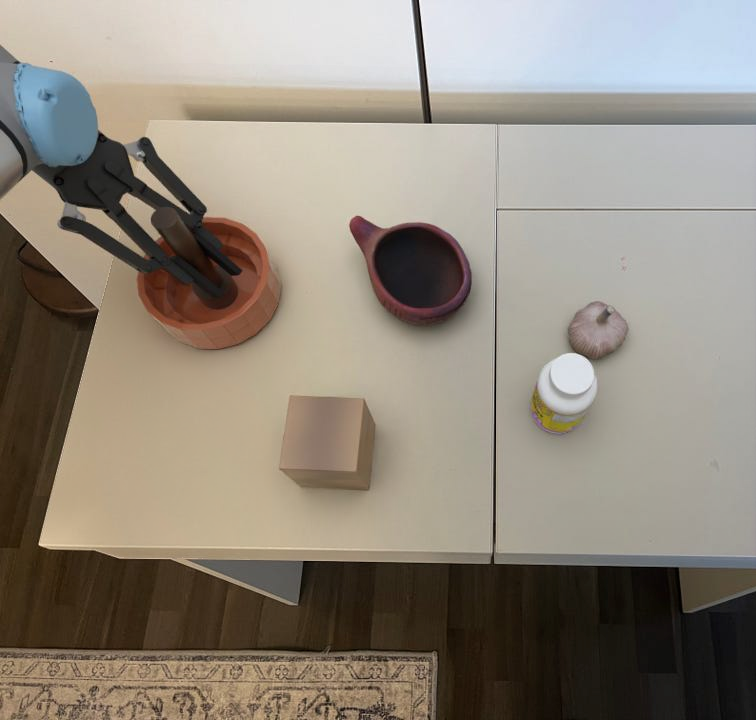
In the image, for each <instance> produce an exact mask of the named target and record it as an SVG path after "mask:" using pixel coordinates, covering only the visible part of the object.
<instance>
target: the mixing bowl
mask: <svg viewBox="0 0 756 720" xmlns="http://www.w3.org/2000/svg"><path fill="white" fill-rule="evenodd" d="M202 222H203V225H204V227H205V228H207V229H208V230H209V231H210V232H211V233H212V234H213V235H214V236H216V237H217V238H218V239H219V240H220V241H221V242H222V244H223V245H224V246H223V247H222V248H221V249H220V250H219V251H221V252H222V253H223V254H224V255H225V256H226V257H228V258H229V259H230V260H231V261H232V262H233V263H235V264H236V265H237V266H238V267H239V268H241V269H242V270H243V271H242V272H241V274H240V275H237V276H231V277H232V278H233V280H234V281H235V283H236V284H237V287H238V295H237V298H236V300H235V301H234V302H233V303H232V304H231V305H230V306H228V307H226V308H224V309H218V310H216V309H210V308H208V307H206V306H205V305H204V304H203V303H202V301H201V300H200V299H199V298H198V296H197V295H196V294H195V293H194V291H193V289H192V283H191V284H190V285H184V284H181V283H180V282H179V281H178V280H176V279H175V278H174V277H172V276H171V275H170V274H169V273H167V272H166V271H165V270H163V269H160V268H159V269H157V270H155V271H153V272H152V273H148V274H142V273H140V272H139V271H137V272H138V273H137V276H136V283H137V293H138V297H139V299H140V301H141V303H142V304H143V307H144V308H145V310H146V311H147V312H148V314H149V315H150V316H151V317H153V319H154V320H155V321H156V322H157V323H158V324H159V325H160V326H162V327H163V328H164V329H165V331H167V333H168V334H170V335H171V336H173V338H175V339H176V340H177V341H179V342H180V343H182V344H185V345H189V346H191V347H194V348H196V349H205V350H207V349H209V350H220V349H224V348H228V347H231V346H236V345H239V344H241V343H243V342H244V341H246V340H248V339H250V338H251V337H253V336H255V335H257V334H258V333H259V332H260V331H261V329H262V328H264V326H266V325H267V323H269V322H270V320H271V319H272V317H273V315H274V313H275V311H276V309H277V308H278V305H279V301H280V298H281V297H280V296H281V289H282V285H281V279H280V275H279V271H278V269H277V267H276V265H275V263H274V261H273V259H272V257H271V254H270V252H269V251H268V249H267V248H266V246H265V245H264V243H263V241H262V240H261V238H260V237H259V235H258V234H257V233H256V232H255V231H254V230H252V229H250V228H249V227H248V226H247V225H245V224H244V223H242V222H239V221H236V220H233V219H230V218H226V217H213V216H204V217H203V220H202ZM154 241H155V242H156V243H157V244H158V245H159V246H160V247H161V248H162V249H163V250H164V251H165V252H166V253H167V255H168V256H169V257H170V258H171V256H175V253H174V252H173V251H172V250H171V248H170V247H169V246H168V244H167V243H166V242H165V241H164V239H163V238H162V237H161V235H159V237H158V238H157V239H156V240H154ZM142 257H143V258H145V259H146V260H150V258H149V257H148V256H147V255H146V254H145V253H144V255H143V256H142ZM208 258H209V259H210V261H211V262H212V264H213V265H216V266H219V265H218V264H217V263H215V262H214V261H213V260H212V259H211V258H210V257H208Z"/></svg>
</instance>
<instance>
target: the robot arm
mask: <svg viewBox="0 0 756 720" xmlns="http://www.w3.org/2000/svg"><path fill="white" fill-rule="evenodd" d="M97 114H98V113H97V110H96V107H95V106H94V104H93V101H92V97H91V94H90V93H89V91H88V90H87V88H86V87H85V85H84V84H82V82H81V81H80V80H78V78H76V77H75V76H74V75H73V74H70V73H67V72H65V71H62V70H58V69H52V68H47V67H41V66H36V65H32V64H31V63H28V62H21V61H20V60H18V59H17V58H16V57H15V56H14V55H13V54H11V53H10V52H9V51H8V50H7V49H6V48H5V47H4V46H2V44H0V201H2V199H3V198H5V196H7V195H8V194H9V193H10V192H11V190H12V189H13V188H15V186H17V184H19V183H20V182H21V181H22V180H23V179H24V178H25V177H26V176H28V174H30V172H31V171H32V172H33V173H35V174H36V175H37V176H39V177H40V178H41V180H43V181H45V182H46V183H47V184H49V186H51V187H52V188H53V189H54V190H55V191H56V192H57V194H58V196H59V198H60V200H61V201H62V202H63V203H64V204H63V205H64V206H63V209H62V213H61V217H60V218H59V219H58V220H57V226H58V228H59V229H61V230H63V231H65V232H70V233H73V234H77V235H81V236H82V237H84V238H85V239H87V240H88V241H90V242H92V244H95V245H96V246H98V247H99V248H102V250H104V251H106V252H107V253H109V254H110V255H112V256H114V257H115V258H117V259H118V260H120V261H122V263H125V264H126V265H128V266H129V267H131V268H132V269H134V270H135V271H137V272H140V273H142V274H148V273H152V272H153V271H155V270H157V269H159V268H160V269H163V270H165V271H166V272H167V273H169V274H170V275H171V276H172V277H174V278H175V279H176V280H178V281H179V282H180V283H181V284H184V285H190V284H191V283H192V282H194V283H195V284H197V285H198V286H199V287H200V288H202V289H203V290H204V291H205V292H207V293H208V294H209V295H210V296H212V297H213V298H221V296H222V295H223V294H224V292H223V291H221V290H220V289H219V288H218V287H216V286H215V285H214V284H213V283H212V282H210V281H209V280H208V279H207V278H205V277H204V276H203V275H202V274H201V273H199V272H198V271H197V270H196V269H194V268H193V267H192V266H191V265H190V264H188V263H187V262H186V261H185V260H183V259H182V258H181V257H180V256H179V255H175V256H171V258H170V257H169V256H168V255H167V253H166V252H165V251H164V250H163V249H162V248H161V247H160V246H159V245H158V244H157V243H156V242H155V241H156V240H155V239H153V237H151V236H150V235H149V233H148V232H147V231H146V230H145V229H144V228H143V227H142V226H141V225H140V224H139V223H138V222H137V221H136V219H134V218H133V217H132V216H131V214H129V212H127V210H126V208H125V207H124V205H122V204H121V200H122V198H123V196H124V195H126V194H129V195H130V196H132V197H133V198H136V199H137V200H139V201H141V202H142V203H144V204H145V205H146V206H149V207H150V208H152V209H153V210H155V211H156V210H157V209H159V208H162V207H171V208H173V209H175V210H176V212H177V213H178V214H179V216H180V217H181V219H182V220H183V222H184V223H185V225H186V226H187V227H188V229H189V230H190V232H191V233H192V235H193V236H194V238H195V239H196V240H197V242H198V243H199V245H200V246H201V248H202V249H203V251H204V252H205V253H206V255H207V256H208V257H210V258H211V259H212V260H213V261H214V262H215V263H217V264H218V265H219V266H220V267H221V268H223V269H224V270H225V271H226V272H227V273H229V274H230V275H231V276H237V275H240V274H241V272H242V271H243V270H242V269H241V268H239V267H238V266H237V265H236V264H235V263H233V262H232V261H231V260H230V259H229V258H228V257H226V256H225V255H224V254H223V253H222V252H221V251H219V250H220V249H221V248H222V247H223V246H224V245H223V244H222V242H221V241H220V240H219V239H218V238H217V237H216V236H214V235H213V234H212V233H211V232H210V231H209V230H208V229H207V228H205V227H204V225H203V222H202V220H203V217H205V214H207V212H208V211H207V210H208V209H207V206H206V205H205V204H204V203H203V202H202V201H201V199H200V198H199V197H197V196H196V194H195V193H194V192H193V191H192V190H191V189H190V188H189V187H188V186H187V185H186V183H184V181H182V180H181V178H180V177H179V176H178V175H177V174H176V173H175V172H174V171H173V170H172V168H170V167H169V166H168V165H167V164H166V162H164V161H163V160H162V158H160V156H159V155H158V153H157V150H156V148H155V146H154V145H153V143H152V142H153V141H152V140H151V139H150V138H149V137H147V136H142V137H140V138H139V139H138V140H135V141H132V142H129V143H125V144H123V143H121V142H119V141H117V140H114V139H111V138H109V137H108V136H107V135H105V134H104V133H103V132H102V131H101V130H100V129H99V122H98V115H97ZM130 156H131V157H132V158H133V159H134V161H136V162H139V163H142V164H143V165H144V167H145V168H146V169H147V171H149V172H150V173H151V175H152V176H154V178H155V179H156V180H157V181H159V183H160V184H161V185H162V186H163V187H164V188H165V189H166V190H167V191H168V192H169V193H170V194H171V195H172V196H173V198H175V199H176V200H177V202H179V203H180V205H181V206H182V207H184V208H185V210H186V211H185V210H184V208H183V209H182V208H181V207H180V206H178V205H177V204H176V203H174V202H172V201H171V200H170V199H167V197H165V196H164V195H162V194H160V193H158V192H157V191H155V190H154V189H152V187H149V186H148V184H147V183H146V182H145V181H143V180H142V179H140V178H138V177H137V176H135V173H134V170H133V167H132V164H131V163H132V162H131V161H130ZM78 208H85V209H92V210H98V211H99V210H100V211H102V213H104V214H105V215H106V216H107V217H108V218H109V219H110V220H111V221H113V222H114V223H115V224H116V225H117V226H118V227H119V228H120V229H121V230H122V231H123V232H124V233H125V235H127V237H128V238H130V240H131V241H132V242H134V244H135V245H136V246H137V247H138V248H139V249H140V250H141V251H142V252H143V253H144V255H145V254H146V255H147V256H148V257H149V258H150V260H146V259H145V258H143V257H144V256H142V255H140V254H139V253H138V252H136V251H135V250H133V249H131V248H130V247H128V246H127V245H125V244H123V243H122V242H120V241H118V239H115V238H114V237H113V236H111V235H110V234H108V233H107V232H105V231H103V230H102V229H100V228H99V227H97V226H96V225H94V224H92V223H90V222H88V221H86V220H87V218H86V216H85V214H84V213H82V212H80V211H79V210H78Z"/></svg>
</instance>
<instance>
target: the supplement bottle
mask: <svg viewBox="0 0 756 720" xmlns="http://www.w3.org/2000/svg"><path fill="white" fill-rule="evenodd" d="M597 392H598V380H597V376H596V373H595V370H594V366H593V364H592V362H590V360H588V359H587V358H586V357H585V356H584V355H582V354H579V353H577V352H576V353H575V352H567V353H563V354H561V355H558V357H555V358H552V359H551V360H550V361H548V362H547V363H546V364H545V365H544V366H543V367H542V369H541V370H540V372H539V374H538V377H537V381H536V384H535V387H534V390H533V392H532V396H531V401H530V413H531V416H532V419H533V420H534V422H535V423H536V425H538V426H539V428H541V429H542V430H543V431H546V432H548V433H551V434H555V435H559V434H560V435H561V434H566V433H569V432H571V431H573V430H575V428H577V427H578V426H579V424H580V423H581V422H582V421H583V419H584V417H585V416H586V414H587V412H588V410H589V408H590V407H591V405H592V404H593V402H594V401H595V398H596V396H597Z"/></svg>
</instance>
